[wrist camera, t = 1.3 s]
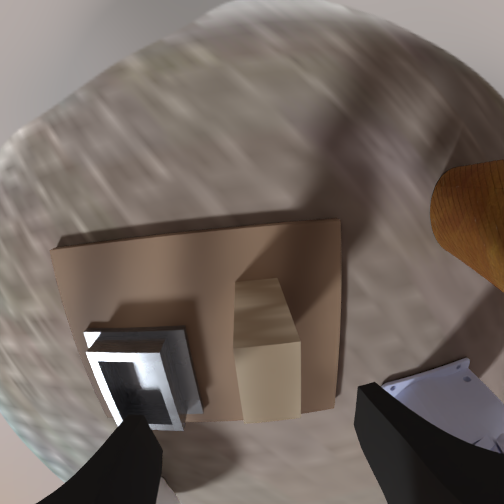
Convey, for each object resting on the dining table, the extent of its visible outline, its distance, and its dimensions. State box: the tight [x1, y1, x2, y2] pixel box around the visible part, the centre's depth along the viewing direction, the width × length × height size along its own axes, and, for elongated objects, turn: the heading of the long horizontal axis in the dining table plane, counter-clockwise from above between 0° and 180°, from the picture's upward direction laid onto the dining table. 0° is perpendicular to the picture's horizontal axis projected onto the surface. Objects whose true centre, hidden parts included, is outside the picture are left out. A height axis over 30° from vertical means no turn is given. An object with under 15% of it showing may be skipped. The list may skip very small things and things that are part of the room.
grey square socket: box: [84, 325, 204, 431], centre depth 17 cm, size 7×7×3 cm
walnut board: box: [50, 218, 341, 422], centre depth 18 cm, size 18×14×1 cm
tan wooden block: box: [233, 278, 301, 424], centre depth 14 cm, size 2×4×7 cm, turn 5°
